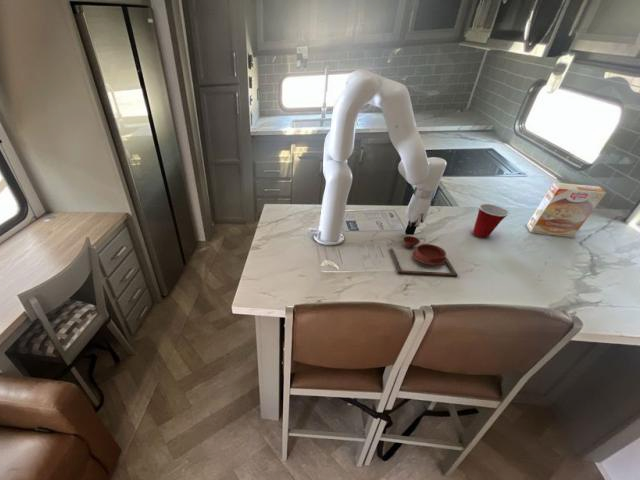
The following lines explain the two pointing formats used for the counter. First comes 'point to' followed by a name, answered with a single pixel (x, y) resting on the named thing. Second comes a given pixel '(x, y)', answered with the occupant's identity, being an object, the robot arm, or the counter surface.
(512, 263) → the counter surface
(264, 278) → the counter surface
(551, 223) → the coffeecake box
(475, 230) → the plastic cup
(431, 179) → the robot arm
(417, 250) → the pottery
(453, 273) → the frame
